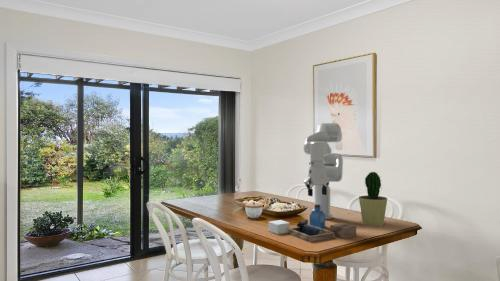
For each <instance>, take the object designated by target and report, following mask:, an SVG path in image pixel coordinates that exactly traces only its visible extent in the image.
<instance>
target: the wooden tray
mask: <svg viewBox="0 0 500 281" xmlns="http://www.w3.org/2000/svg"><path fill="white" fill-rule="evenodd" d="M309 225H310V224H309ZM310 226H312V225H310ZM313 227H315V226H313ZM299 228H300V227H297V226H296V227H290V228H289V229H288V232H287V234H289V235H291V236H292V237H293V236H294V237H296V238H299V239H301V240H303V241H306V242H309V243H313V242H319V241H325V240H330V239H335V238H336V237H335V233H334V232H331V231H330V230H328V229H325V228H319V227H316V228H319V229H321V230H322V232H323V233H322V234H320V235H314V236H311V235H309V234H306V233H301V232H298V229H299Z"/></svg>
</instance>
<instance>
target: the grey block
mask: <svg viewBox="0 0 500 281" xmlns="http://www.w3.org/2000/svg"><path fill="white" fill-rule="evenodd" d="M267 223H268V224H267V226H268V228H267V230H268V232H271V233H273V234H276V235H281V234H286V233H287V234H288V229H289V228H291V225H290V224H291V222H288V221H285V220H283V219H279V220H270V221H268V222H267Z"/></svg>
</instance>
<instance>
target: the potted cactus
mask: <svg viewBox="0 0 500 281" xmlns="http://www.w3.org/2000/svg"><path fill="white" fill-rule="evenodd" d="M381 177H382V176H381V175H379V174H378V172H377V171H370V172H368V174H367V173H366V176H365V177H364V185H365V187H366V188H365V189H366V194H367V195H359V196H358V200H359V207H360V213H361V214H360V215H361V222H362V224H363V225H366V226H372V227H373V226H374V227H380V226H384V223H385V217H386V216H385V215H386V210H387V203H388V197H386V196H380V192H381V190H382V189H383V187H382V183H381V182H382V180H381ZM380 189H381V190H380Z"/></svg>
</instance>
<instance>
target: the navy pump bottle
mask: <svg viewBox="0 0 500 281" xmlns="http://www.w3.org/2000/svg"><path fill="white" fill-rule="evenodd" d="M296 227H300V228H299V229H298V232H301V233H304V234H306V235H309V236H314V235H320V234H322V233H323V232H322V230H321V229H319V228H316V227H313V226H310V224H309V220H308V219H305V220H304V221H298V222H297V223H296Z"/></svg>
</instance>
